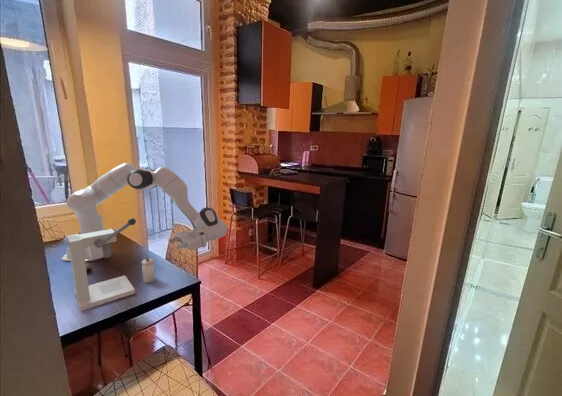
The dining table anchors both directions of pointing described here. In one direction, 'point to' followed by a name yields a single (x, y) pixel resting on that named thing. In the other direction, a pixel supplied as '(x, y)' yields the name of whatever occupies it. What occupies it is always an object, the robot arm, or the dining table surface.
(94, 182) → the robot arm
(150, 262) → the white lidded bottle
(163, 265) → the dining table surface
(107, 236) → the press
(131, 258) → the dining table surface
